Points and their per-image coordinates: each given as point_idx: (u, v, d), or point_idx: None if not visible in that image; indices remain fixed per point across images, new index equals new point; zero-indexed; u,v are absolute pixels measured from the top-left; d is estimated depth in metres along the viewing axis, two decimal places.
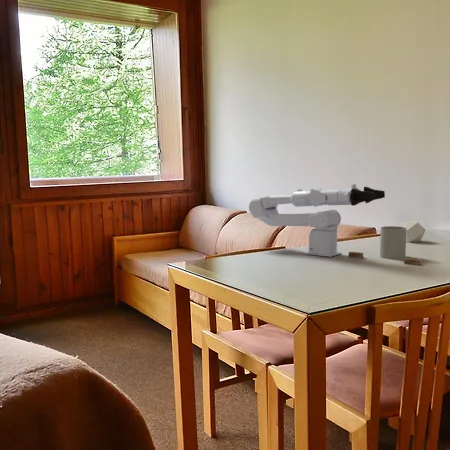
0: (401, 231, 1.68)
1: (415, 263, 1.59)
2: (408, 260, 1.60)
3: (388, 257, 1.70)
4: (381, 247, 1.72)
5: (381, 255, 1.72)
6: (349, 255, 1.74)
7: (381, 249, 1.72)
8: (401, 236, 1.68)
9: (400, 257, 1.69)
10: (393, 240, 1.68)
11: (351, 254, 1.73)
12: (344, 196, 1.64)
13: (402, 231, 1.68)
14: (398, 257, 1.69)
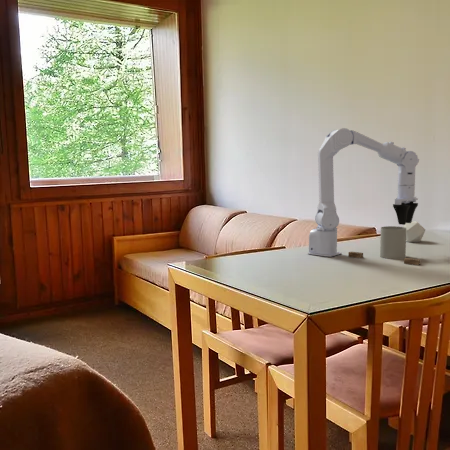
0: (401, 231, 1.68)
1: (415, 263, 1.59)
2: (408, 260, 1.60)
3: (388, 257, 1.70)
4: (381, 247, 1.72)
5: (381, 255, 1.72)
6: (349, 255, 1.74)
7: (381, 249, 1.72)
8: (401, 236, 1.68)
9: (400, 257, 1.69)
10: (393, 240, 1.68)
11: (351, 254, 1.73)
12: (398, 200, 1.72)
13: (402, 231, 1.68)
14: (398, 257, 1.69)
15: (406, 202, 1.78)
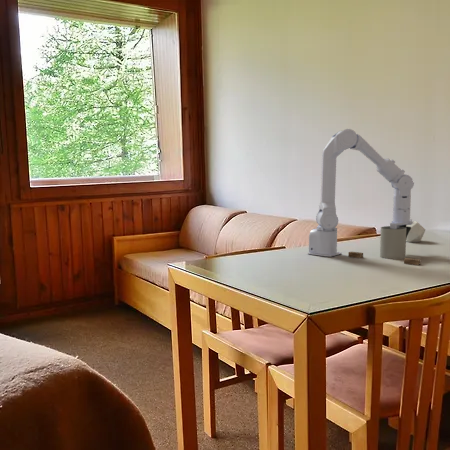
0: (401, 231, 1.68)
1: (415, 263, 1.59)
2: (408, 260, 1.60)
3: (388, 257, 1.70)
4: (381, 247, 1.72)
5: (381, 255, 1.72)
6: (349, 255, 1.74)
7: (381, 249, 1.72)
8: (401, 236, 1.68)
9: (400, 257, 1.69)
10: (393, 240, 1.68)
11: (351, 254, 1.73)
12: (394, 224, 1.71)
13: (402, 231, 1.68)
14: (398, 257, 1.69)
15: (402, 225, 1.77)
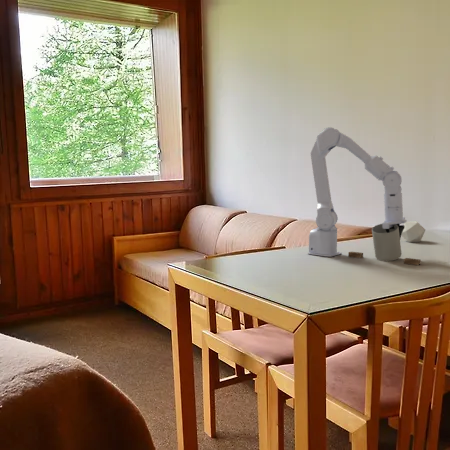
0: (392, 234, 1.62)
1: (415, 263, 1.59)
2: (408, 260, 1.60)
3: (382, 259, 1.66)
4: (374, 248, 1.68)
5: (376, 256, 1.69)
6: (349, 255, 1.74)
7: (375, 250, 1.68)
8: (392, 238, 1.63)
9: (394, 258, 1.65)
10: (384, 244, 1.64)
11: (351, 254, 1.73)
12: (386, 224, 1.64)
13: (392, 233, 1.62)
14: (392, 259, 1.65)
15: None
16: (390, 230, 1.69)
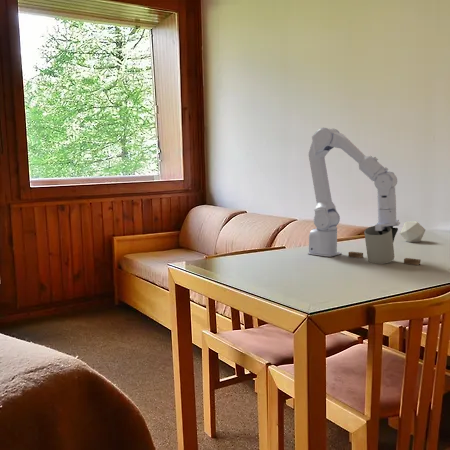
0: (384, 236, 1.58)
1: (415, 263, 1.59)
2: (408, 260, 1.60)
3: (374, 262, 1.62)
4: (367, 251, 1.64)
5: (368, 258, 1.65)
6: (349, 255, 1.74)
7: (367, 253, 1.65)
8: (385, 240, 1.59)
9: (386, 261, 1.61)
10: (376, 246, 1.60)
11: (351, 254, 1.73)
12: (379, 226, 1.60)
13: (385, 236, 1.58)
14: (384, 261, 1.61)
15: None
16: (383, 232, 1.65)
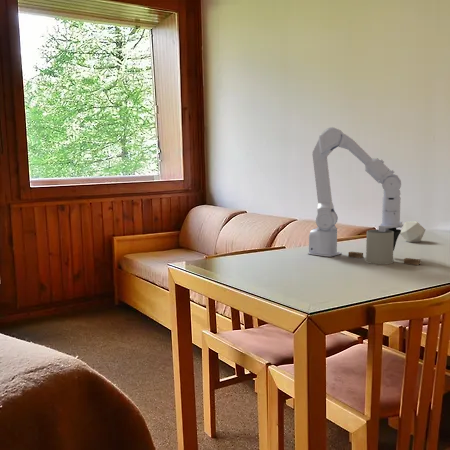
0: (387, 235, 1.60)
1: (415, 263, 1.59)
2: (408, 260, 1.60)
3: (373, 262, 1.62)
4: (367, 251, 1.64)
5: (367, 260, 1.65)
6: (349, 255, 1.74)
7: (367, 253, 1.65)
8: (387, 240, 1.60)
9: (386, 262, 1.61)
10: (378, 245, 1.60)
11: (351, 254, 1.73)
12: (382, 227, 1.64)
13: (388, 235, 1.60)
14: (383, 262, 1.61)
15: (391, 228, 1.70)
16: None
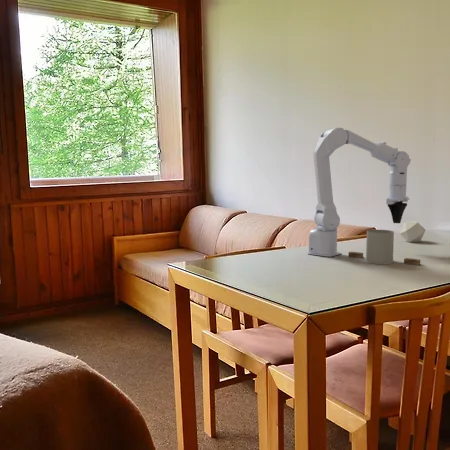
0: (387, 235, 1.60)
1: (415, 263, 1.59)
2: (408, 260, 1.60)
3: (373, 262, 1.62)
4: (367, 251, 1.64)
5: (367, 260, 1.65)
6: (349, 255, 1.74)
7: (367, 253, 1.65)
8: (387, 240, 1.60)
9: (386, 262, 1.61)
10: (378, 244, 1.60)
11: (351, 254, 1.73)
12: (390, 200, 1.74)
13: (388, 235, 1.60)
14: (383, 262, 1.61)
15: (398, 202, 1.80)
16: None
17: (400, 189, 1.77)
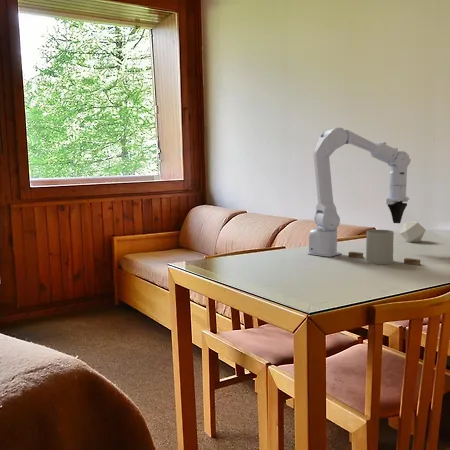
0: (387, 235, 1.60)
1: (415, 263, 1.59)
2: (408, 260, 1.60)
3: (373, 262, 1.62)
4: (367, 251, 1.64)
5: (367, 260, 1.65)
6: (349, 255, 1.74)
7: (367, 253, 1.65)
8: (387, 240, 1.60)
9: (386, 262, 1.61)
10: (378, 244, 1.61)
11: (351, 254, 1.73)
12: (390, 200, 1.74)
13: (388, 235, 1.60)
14: (383, 262, 1.61)
15: (398, 202, 1.80)
16: None
17: (400, 189, 1.77)
